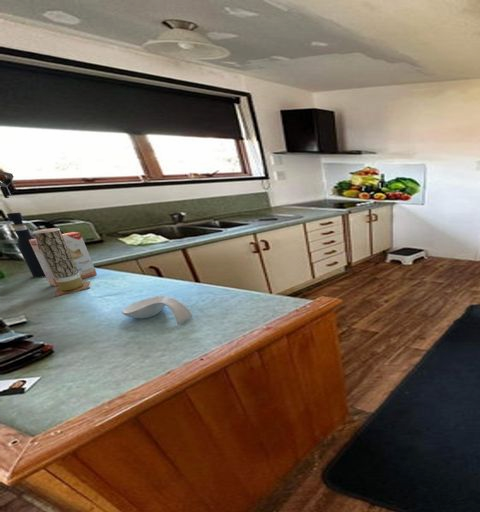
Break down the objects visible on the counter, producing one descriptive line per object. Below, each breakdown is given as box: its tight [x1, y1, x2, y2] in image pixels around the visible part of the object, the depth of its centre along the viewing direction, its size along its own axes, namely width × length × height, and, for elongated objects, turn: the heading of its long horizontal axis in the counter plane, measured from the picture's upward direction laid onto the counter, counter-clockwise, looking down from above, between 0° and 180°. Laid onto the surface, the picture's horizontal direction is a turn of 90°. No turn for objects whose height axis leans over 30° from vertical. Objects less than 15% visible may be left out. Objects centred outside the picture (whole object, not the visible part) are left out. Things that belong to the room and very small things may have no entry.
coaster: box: [53, 280, 91, 298], centre depth 114 cm, size 10×10×1 cm
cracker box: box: [29, 231, 98, 287], centre depth 120 cm, size 14×6×21 cm, turn 161°
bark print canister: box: [32, 227, 84, 291], centre depth 110 cm, size 7×7×25 cm
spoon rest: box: [121, 295, 193, 325], centre depth 90 cm, size 24×12×7 cm, turn 73°
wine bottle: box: [6, 212, 46, 278], centre depth 126 cm, size 6×6×30 cm
